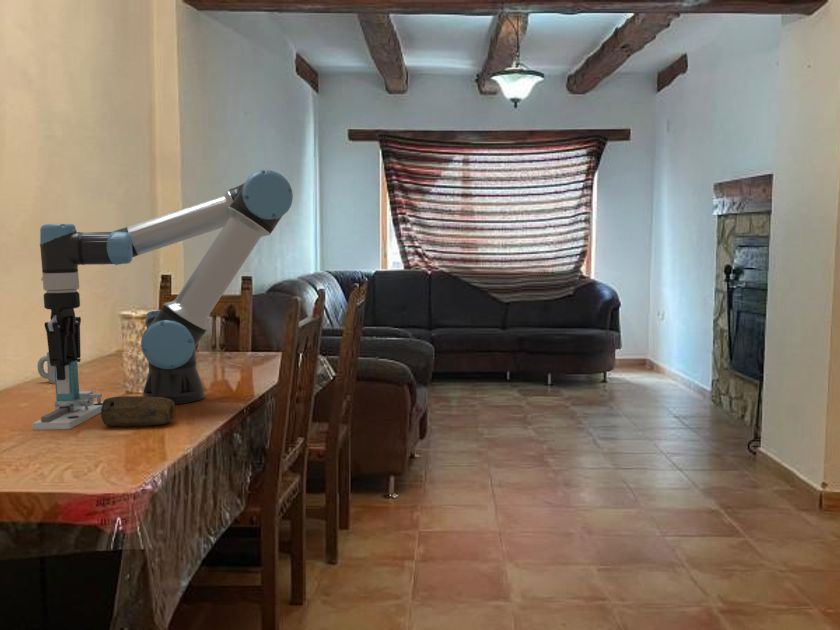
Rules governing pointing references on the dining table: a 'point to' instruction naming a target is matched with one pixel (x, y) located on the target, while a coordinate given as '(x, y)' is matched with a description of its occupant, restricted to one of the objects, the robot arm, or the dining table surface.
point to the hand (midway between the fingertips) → (67, 391)
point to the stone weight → (137, 411)
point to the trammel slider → (71, 390)
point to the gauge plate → (70, 414)
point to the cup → (51, 370)
